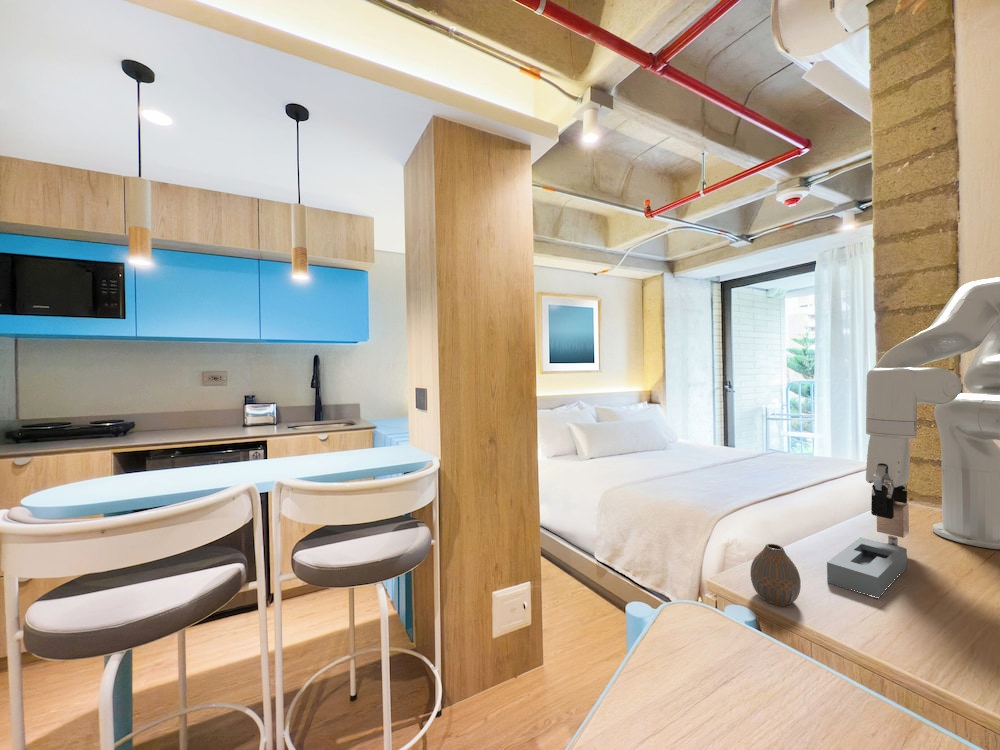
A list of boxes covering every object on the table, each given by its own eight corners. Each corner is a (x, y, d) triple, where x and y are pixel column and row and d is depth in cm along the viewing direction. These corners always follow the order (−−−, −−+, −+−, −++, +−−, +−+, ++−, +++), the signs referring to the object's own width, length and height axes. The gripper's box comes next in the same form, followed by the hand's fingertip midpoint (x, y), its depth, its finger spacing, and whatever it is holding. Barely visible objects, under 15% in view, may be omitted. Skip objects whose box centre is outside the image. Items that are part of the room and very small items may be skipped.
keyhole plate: (860, 555, 84) (860, 537, 84) (906, 567, 78) (906, 548, 78) (827, 582, 73) (827, 562, 73) (877, 599, 68) (877, 577, 68)
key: (883, 546, 88) (882, 498, 88) (909, 552, 84) (908, 503, 84) (877, 551, 85) (876, 502, 85) (903, 557, 82) (903, 507, 82)
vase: (795, 593, 70) (794, 541, 70) (805, 615, 64) (804, 558, 64) (748, 585, 73) (747, 535, 73) (753, 605, 67) (752, 551, 67)
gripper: (879, 424, 93) (878, 500, 93) (852, 429, 83) (851, 514, 83) (926, 427, 86) (925, 510, 86) (904, 433, 77) (903, 526, 77)
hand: (889, 512), depth 85 cm, fingers open, 9 cm apart
